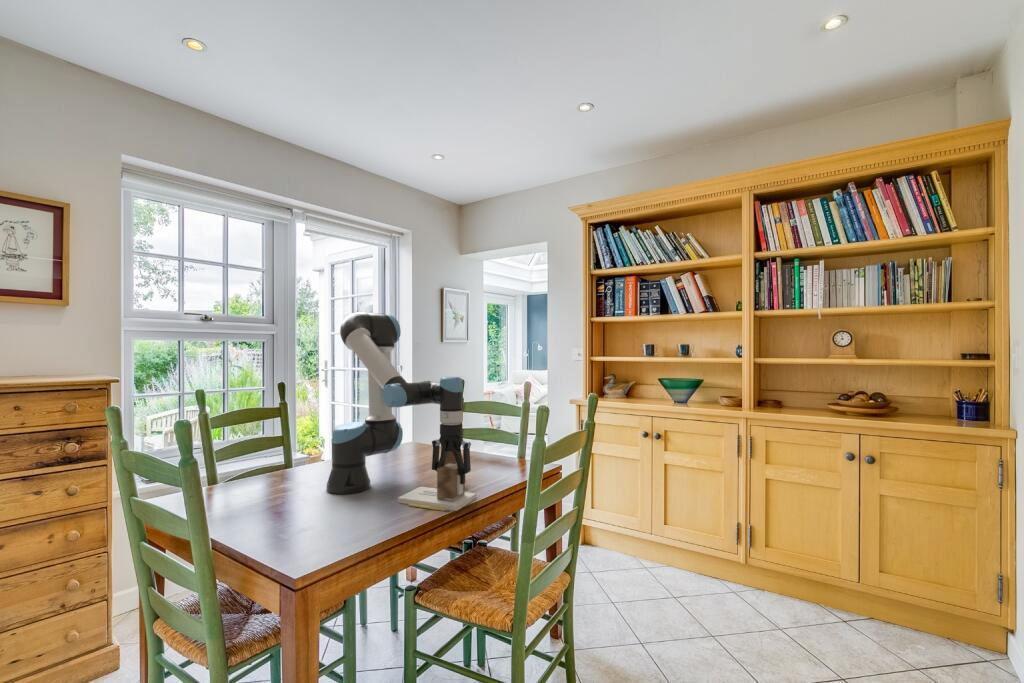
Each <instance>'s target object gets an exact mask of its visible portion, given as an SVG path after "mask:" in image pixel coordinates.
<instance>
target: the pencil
mask: <svg viewBox="0 0 1024 683" xmlns="http://www.w3.org/2000/svg"><path fill="white" fill-rule="evenodd" d="M408 507H414V508H420V509H426V510H427V509H428V510H435V511H441V512H450V510H449V509H445V508H438V507H431V506H424V505H416V504H408Z"/></svg>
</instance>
